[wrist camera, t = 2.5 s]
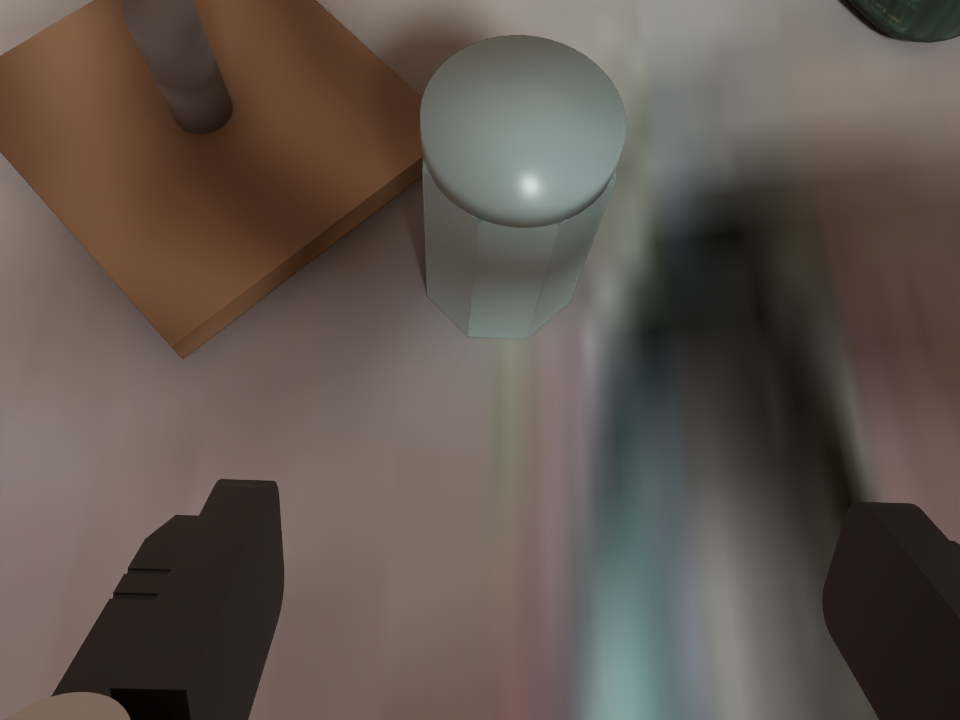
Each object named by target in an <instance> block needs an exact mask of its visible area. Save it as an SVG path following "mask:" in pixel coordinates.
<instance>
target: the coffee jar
mask: <svg viewBox="0 0 960 720" xmlns="http://www.w3.org/2000/svg"><path fill="white" fill-rule="evenodd" d="M848 1H849V2H850V3H851V4H852V5H853V6H854V7H855V8H856V9H857V10H858V11H859V12H860V13H861V14H862V15H863V16H864V17H865V18H866V19H868V20H869V21H870V22H871V23H872V24H873V25H874V26H876V27H877V28H878V29H879V30H881V31H882V32H884V33H886V34H888V35H889V36H892V37H894V38H896V39H902V40H910V41H914V42H929V43H931V42H937V41H944V40H948V39H951V38H955V37H958V36H960V0H848Z"/></svg>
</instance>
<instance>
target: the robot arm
mask: <svg viewBox="0 0 960 720" xmlns="http://www.w3.org/2000/svg"><path fill="white" fill-rule="evenodd" d="M283 590H284V560H283V546H282V531H281V516H280V502H279V491H278V486H277V484H276V482H275V481H261V480H231V479H220V480H218V481H217V483H216V484H215V486H214V488H213V490H212V492H211V493H210V495H209V497H208V499H207V501H206V503H205V505H204V507H203V509H202V511H201V513H200V515H199V516H190V515H175V516H174V517H173V518H171V519H170V520H169V521H167V522H166V523H165V524H164V525H162V526H161V527H160V528H159V529H157V530H156V531H155V532H154V533H152V534H151V535H150V536H149V537H147V538H146V539H145V540H144V542H143V544H142V545H141V547H140V549H139V550H138V552H137V554H136V555H135V557H134V559H133V560H132V562H131V564H130V565H129V567H128V573H127V574H124V575H123V577H122V579H121V580H120V582H119V584H118V586H117V587H116V589H115V591H114V592H113V598H112V599H109V601H108V602H107V604H106V606H105V607H104V609H103V611H102V612H101V614H100V616H99V617H98V619H97V621H96V622H95V624H94V626H93V627H92V629H91V631H90V632H89V634H88V636H87V638H86V639H85V641H84V643H83V644H82V646H81V648H80V649H79V651H78V653H77V654H76V656H75V658H74V659H73V661H72V663H71V664H70V666H69V668H68V669H67V671H66V673H65V674H64V676H63V678H62V679H61V681H60V683H59V684H58V686H57V688H56V690H55V691H54V693H53V694H52V696H51V697H48V698H46V699H43V700H40V701H38V702H35V703H33V704H31V705H29V706H27V707H25V708H23V709H21V710H19V711H17V712H16V713H14V714H13V715H11V716H9V717H8V718H7V719H5V720H248V718H249V715H250V711H251V708H252V705H253V702H254V698H255V695H256V692H257V688H258V685H259V682H260V678H261V675H262V672H263V669H264V665H265V662H266V659H267V655H268V652H269V649H270V645H271V642H272V639H273V635H274V632H275V629H276V626H277V622H278V619H279V615H280V611H281V605H282V599H283ZM822 603H823V614H824V619H825V622H826V626H827V628H828V631H829V633H830V635H831V637H832V638H833V640H834V642H835V644H836V645H837V647H838V649H839V651H840V652H841V654H842V656H843V658H844V659H845V661H846V663H847V664H848V666H849V668H850V670H851V671H852V673H853V675H854V677H855V678H856V680H857V682H858V683H859V685H860V687H861V689H862V690H863V692H864V694H865V696H866V697H867V699H868V701H869V702H870V704H871V706H872V708H873V709H874V711H875V713H876V715H877V716H878V718H879V720H960V545H959V544H958V543H956V542H955V541H949V540H948V539H947V537H946V536H945V535H944V534H943V533H942V532H941V531H940V530H939V529H938V527H937V526H936V525H935V524H934V523H933V522H932V521H931V520H930V519H929V517H928V516H927V515H926V514H925V513H924V512H923V511H922V510H921V509H920V508H919V507H918V506H916V505H914V504H909V503H879V502H856V503H854V504H853V505H851V507H850V508H849V509H848V511H847V513H846V516H845V519H844V522H843V525H842V529H841V532H840V535H839V539H838V542H837V545H836V548H835V552H834V555H833V558H832V562H831V565H830V568H829V571H828V575H827V578H826V581H825V585H824V589H823V598H822Z"/></svg>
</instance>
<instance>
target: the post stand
mask: <svg viewBox="0 0 960 720" xmlns="http://www.w3.org/2000/svg"><path fill="white" fill-rule="evenodd" d="M421 102H422V98H421V97H420V96H419V95H418V94H417V93H416V92H415V91H414V90H413V89H411V88H410V87H409V86H408V85H407V84H406V83H405V82H404V81H403V80H402V79H401V78H399V77H398V76H397V75H396V74H395V73H394V72H393V71H392V70H391V69H390V68H389V67H387V66H386V65H385V64H384V63H383V62H382V61H381V60H380V59H379V58H378V57H377V56H375V55H374V54H373V53H372V52H371V51H370V50H369V49H368V48H367V47H366V46H365V45H363V44H362V43H361V42H360V41H359V40H358V39H357V38H356V37H355V36H354V35H353V34H352V33H350V32H349V31H348V30H347V29H346V28H345V27H344V26H343V25H342V24H341V23H340V22H338V21H337V20H336V19H335V18H334V17H333V16H332V15H331V14H330V13H329V12H328V11H326V10H325V9H324V8H323V7H322V6H321V5H320V4H319V3H318V2H317V1H316V0H94V1H92V2H90V3H89V4H87V5H85V6H84V7H82V8H80V9H79V10H77V11H75V12H74V13H72V14H70V15H68V16H67V17H65V18H63V19H62V20H60V21H58V22H57V23H55V24H53V25H52V26H50V27H48V28H47V29H45V30H43V31H42V32H40V33H38V34H36V35H35V36H33V37H31V38H30V39H28V40H26V41H25V42H23V43H21V44H20V45H18V46H16V47H15V48H13V49H11V50H10V51H8V52H6V53H4V54H3V55H1V56H0V152H1V153H2V154H3V155H4V156H5V157H6V159H7V160H8V161H9V162H10V163H11V164H12V165H13V167H14V168H15V169H16V170H17V171H18V172H19V173H20V175H21V176H22V177H23V178H24V179H25V180H26V181H27V183H28V184H29V185H30V186H31V187H32V188H33V189H34V191H35V192H36V193H37V194H38V195H39V196H40V197H41V199H42V200H43V201H44V202H45V203H46V204H47V205H48V207H49V208H50V209H51V210H52V211H53V212H54V213H55V215H56V216H57V217H58V218H59V219H60V220H61V221H62V223H63V224H64V225H65V226H66V227H67V228H68V229H69V231H70V232H71V233H72V234H73V235H74V236H75V237H76V239H77V240H78V241H79V242H80V243H81V244H82V245H83V247H84V248H85V249H86V250H87V251H88V252H89V253H90V255H91V256H92V257H93V258H94V259H95V260H96V261H97V263H98V264H99V265H100V266H101V267H102V268H103V269H104V271H105V272H106V273H107V274H108V275H109V276H110V277H111V279H112V280H113V281H114V282H115V283H116V284H117V285H118V287H119V288H120V289H121V290H122V291H123V292H124V293H125V295H126V296H127V297H128V298H129V299H130V300H131V301H132V303H133V304H134V305H135V306H136V307H137V308H138V309H139V311H140V312H141V313H142V314H143V315H144V316H145V317H146V319H147V320H148V321H149V322H150V323H151V324H152V325H153V327H154V328H155V329H156V330H157V331H158V332H159V333H160V335H161V336H162V337H163V338H164V339H165V340H166V341H167V343H168V344H169V345H170V346H171V347H172V348H173V349H174V350H175V352H176V353H177V354H178V355H179V356H180V357H181V358H182V359H184V358H185V357H187V356H188V355H189V354H191V353H192V352H193V351H194V350H196V349H197V348H198V347H200V346H201V345H202V344H204V343H205V342H206V341H207V340H209V339H210V338H211V337H213V336H214V335H215V334H217V333H218V332H219V331H221V330H222V329H223V328H224V327H226V326H227V325H228V324H230V323H231V322H232V321H234V320H235V319H236V318H237V317H239V316H240V315H241V314H243V313H244V312H245V311H247V310H248V309H249V308H250V307H252V306H253V305H254V304H256V303H257V302H258V301H260V300H261V299H262V298H263V297H265V296H266V295H267V294H269V293H270V292H271V291H273V290H274V289H275V288H276V287H278V286H279V285H280V284H282V283H283V282H284V281H286V280H287V279H288V278H290V277H291V276H292V275H293V274H295V273H296V272H297V271H299V270H300V269H301V268H303V267H304V266H305V265H306V264H308V263H309V262H310V261H312V260H313V259H314V258H316V257H317V256H318V255H319V254H321V253H322V252H323V251H325V250H326V249H327V248H329V247H330V246H331V245H332V244H334V243H335V242H336V241H338V240H339V239H340V238H342V237H343V236H344V235H345V234H347V233H348V232H349V231H351V230H352V229H353V228H355V227H356V226H357V225H358V224H360V223H361V222H362V221H364V220H365V219H366V218H368V217H369V216H370V215H372V214H373V213H374V212H375V211H377V210H378V209H379V208H381V207H382V206H383V205H385V204H386V203H387V202H388V201H390V200H391V199H392V198H394V197H395V196H396V195H398V194H399V193H400V192H401V191H403V190H404V189H405V188H407V187H408V186H409V185H411V184H412V183H413V182H414V181H416V180H417V179H418V178H420V177H421V176H422V169H423V155H422V149H421V130H420V109H421Z"/></svg>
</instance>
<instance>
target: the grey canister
mask: <svg viewBox="0 0 960 720" xmlns="http://www.w3.org/2000/svg"><path fill="white" fill-rule="evenodd" d="M420 130H421V149H422V155H423V169H422V180H423V206H424V232H425V258H426V283H427V297H429V298H430V299H431V300H432V301H433V302H434V303H435V304H436V305H437V306H438V307H439V308H440V309H441V310H442V311H443V312H444V313H445V314H446V315H447V316H448V317H449V318H450V319H451V320H452V321H453V322H454V323H455V324H456V325H457V326H458V327H459V328H460V329H461V330H462V331H463V332H464V333H465V334H466V335H467V337H491V338H515V339H529V338H530V337H531V336H532V335H533V334H534V333H535V332H536V331H537V330H539V329H540V328H541V327H542V326H543V325H544V324H545V323H546V322H548V321H549V320H550V319H551V318H552V317H553V316H554V315H555V314H557V313H558V312H559V311H560V310H561V309H562V308H563V307H564V306H566V305H567V304H568V303H569V302H570V300H571V297H572V295H573V292H574V289H575V287H576V284H577V282H578V279H579V276H580V274H581V271H582V268H583V266H584V263H585V260H586V258H587V255H588V253H589V250H590V247H591V245H592V242H593V239H594V237H595V234H596V231H597V229H598V226H599V224H600V221H601V218H602V216H603V213H604V210H605V208H606V205H607V202H608V200H609V197H610V195H611V192H612V189H613V187H614V184H615V181H616V170H615V168H616V165H617V163H618V160H619V157H620V155H621V152H622V149H623V146H624V142H625V137H626V116H625V110H624V106H623V103H622V100H621V98H620V95H619V93H618V91H617V89H616V87H615V86H614V84H613V83H612V81H611V80H610V78H609V77H608V76H607V75H606V73H605V72H604V71H603V70H602V69H601V68H600V67H599V66H598V65H597V64H596V63H595V62H593V61H592V60H591V59H589V58H588V57H587V56H585V55H584V54H582V53H580V52H579V51H577V50H575V49H573V48H571V47H569V46H567V45H564V44H562V43H559V42H556V41H553V40H550V39H545V38H541V37H535V36H526V35H509V36H500V37H494V38H490V39H485V40H482V41H479V42H476V43H474V44H472V45H469V46H467V47H465V48H463V49H462V50H460V51H458V52H457V53H455V54H454V55H452V56H451V57H450V58H449V59H447V60H446V61H445V62H444V63H443V64H442V65H441V66H440V67H439V68H438V69H437V71H436V72H435V73H434V75H433V76H432V78H431V79H430V81H429V83H428V85H427V87H426V89H425V92H424V95H423V98H422V102H421V109H420Z"/></svg>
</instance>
